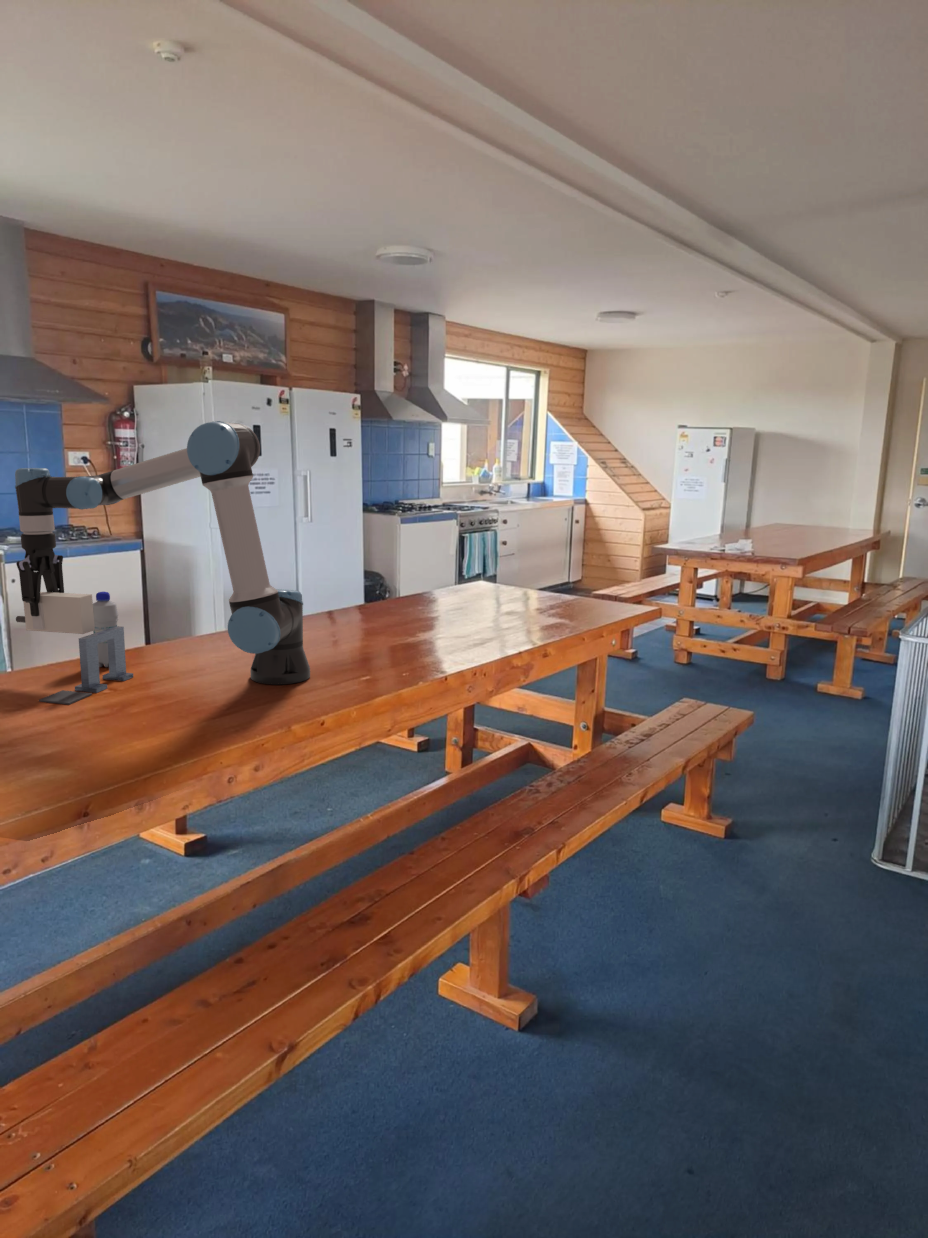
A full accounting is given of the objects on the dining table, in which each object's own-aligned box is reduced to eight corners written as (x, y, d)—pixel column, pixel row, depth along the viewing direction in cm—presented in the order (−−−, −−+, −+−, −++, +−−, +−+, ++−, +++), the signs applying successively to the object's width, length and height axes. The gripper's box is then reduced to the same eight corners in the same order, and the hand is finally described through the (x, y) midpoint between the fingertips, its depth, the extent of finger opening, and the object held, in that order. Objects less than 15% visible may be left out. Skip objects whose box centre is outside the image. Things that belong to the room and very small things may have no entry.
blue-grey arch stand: (133, 677, 214) (130, 627, 211) (96, 692, 200) (93, 639, 197) (112, 675, 215) (109, 625, 212) (74, 690, 201) (71, 637, 198)
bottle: (92, 669, 220) (87, 594, 216) (95, 662, 226) (91, 589, 222) (119, 668, 222) (115, 593, 218) (122, 661, 228) (118, 589, 224)
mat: (92, 694, 198) (92, 693, 198) (69, 704, 191) (69, 703, 190) (62, 691, 200) (62, 690, 200) (38, 701, 192) (38, 699, 192)
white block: (94, 630, 208) (91, 594, 206) (82, 634, 203) (79, 597, 202) (25, 625, 212) (22, 590, 210) (12, 629, 208) (8, 593, 206)
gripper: (49, 528, 213) (57, 618, 217) (-3, 535, 196) (7, 633, 201) (75, 529, 211) (83, 620, 216) (24, 536, 194) (34, 634, 199)
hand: (46, 626), depth 208 cm, fingers closed on white block, 4 cm apart
